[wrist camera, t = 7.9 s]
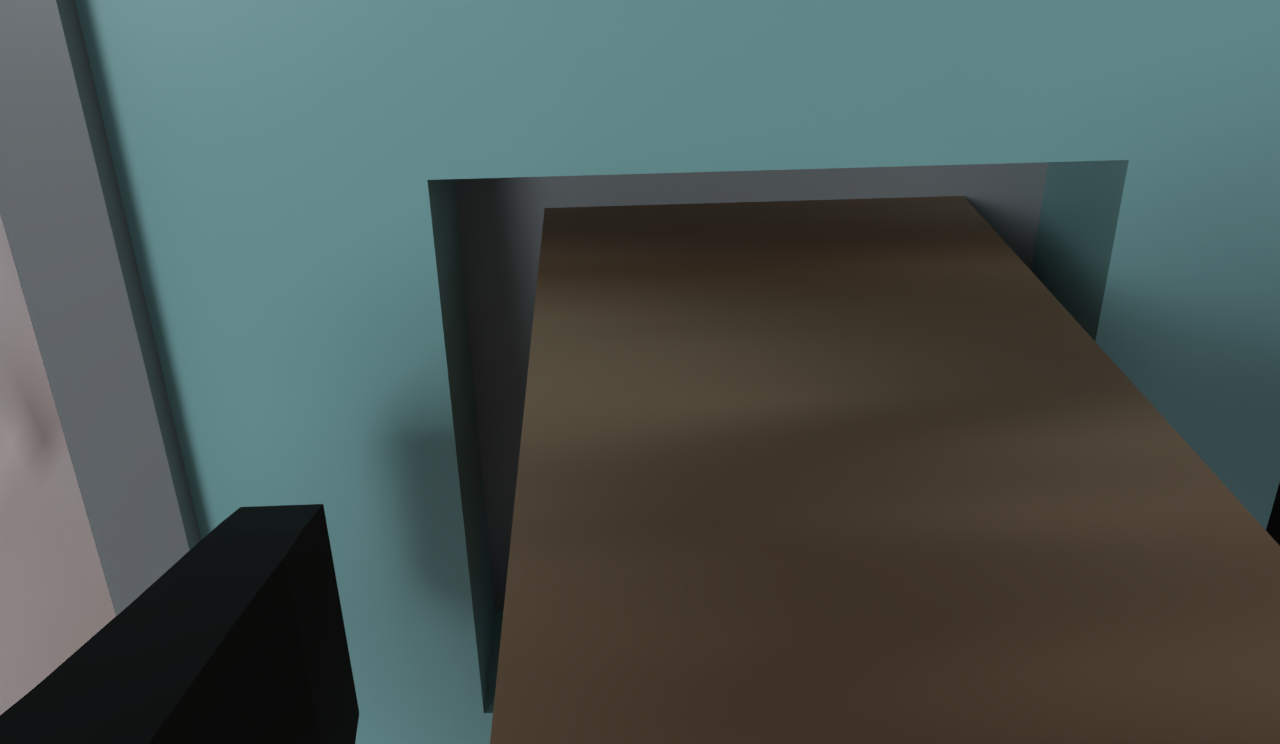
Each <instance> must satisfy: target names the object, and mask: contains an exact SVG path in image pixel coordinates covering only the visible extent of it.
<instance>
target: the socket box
mask: <svg viewBox="0 0 1280 744" xmlns="http://www.w3.org/2000/svg"><path fill="white" fill-rule="evenodd" d="M939 196H964V197H965V198H966V199H967V200H968V202H969V203H970V204H971V205H972V206H973V207H974V208H975V209H976V210H977V212H978V213H979V214H980V215H981V216H982V217H983V218H984V219H985V220H986V221H987V223H988V224H989V225H990V226H991V227H992V228H993V229H994V230H995V231H996V233H997V234H998V235H999V236H1000V237H1001V238H1002V239H1003V240H1004V241H1005V243H1006V244H1007V245H1008V246H1009V247H1010V248H1011V249H1012V250H1013V251H1014V252H1015V254H1016V255H1017V256H1018V257H1019V258H1020V259H1021V260H1022V261H1023V262H1024V264H1025V265H1026V266H1027V267H1028V268H1029V269H1030V270H1031V271H1032V272H1033V273H1034V275H1035V276H1036V277H1037V278H1038V279H1039V280H1040V281H1041V282H1042V283H1043V285H1044V286H1045V287H1046V288H1047V289H1048V290H1049V291H1050V292H1051V293H1052V294H1053V296H1054V297H1055V298H1056V299H1057V300H1058V301H1059V302H1060V303H1061V304H1062V306H1063V307H1064V308H1065V309H1066V310H1067V311H1068V312H1069V313H1070V314H1071V315H1072V317H1073V318H1074V319H1075V320H1076V321H1077V322H1078V323H1079V324H1080V325H1081V327H1082V328H1083V329H1084V330H1085V331H1086V332H1087V333H1088V334H1089V335H1090V337H1091V338H1092V339H1093V340H1094V341H1095V342H1096V343H1097V344H1098V345H1099V346H1100V348H1101V349H1102V350H1103V351H1104V352H1105V353H1106V354H1107V355H1108V356H1109V358H1110V359H1111V360H1112V361H1113V362H1114V363H1115V364H1116V365H1117V366H1118V367H1119V369H1120V370H1121V371H1122V372H1123V373H1124V374H1125V375H1126V376H1127V377H1128V379H1129V380H1130V381H1131V382H1132V383H1133V384H1134V385H1135V386H1136V387H1137V388H1138V390H1139V391H1140V392H1141V393H1142V394H1143V395H1144V396H1145V397H1146V398H1147V400H1148V401H1149V402H1150V403H1151V404H1152V405H1153V406H1154V407H1155V408H1156V410H1157V411H1158V412H1159V413H1160V414H1161V415H1162V416H1163V417H1164V418H1165V419H1166V421H1167V422H1168V423H1169V424H1170V425H1171V426H1172V427H1173V428H1174V429H1175V431H1176V432H1177V433H1178V434H1179V435H1180V436H1181V437H1182V438H1183V439H1184V440H1185V442H1186V443H1187V444H1188V445H1189V446H1190V447H1191V448H1192V449H1193V450H1194V452H1195V453H1196V454H1197V455H1198V456H1199V457H1200V458H1201V459H1202V460H1203V461H1204V463H1205V464H1206V465H1207V466H1208V467H1209V468H1210V469H1211V470H1212V471H1213V473H1214V474H1215V475H1216V476H1217V477H1218V478H1219V479H1220V480H1221V481H1222V482H1223V484H1224V485H1225V486H1226V487H1227V488H1228V489H1229V490H1230V491H1231V492H1232V494H1233V495H1234V496H1235V497H1236V498H1237V499H1238V500H1239V501H1240V502H1241V504H1242V505H1243V506H1244V507H1245V508H1246V509H1247V510H1248V511H1249V512H1250V513H1251V515H1252V516H1253V517H1254V518H1255V519H1256V520H1257V521H1258V522H1259V523H1260V525H1261V526H1262V527H1263V528H1264V529H1265V530H1266V528H1267V525H1268V521H1269V518H1270V514H1271V511H1272V507H1273V504H1274V500H1275V497H1276V493H1277V490H1278V486H1279V483H1280V0H0V214H1V217H2V221H3V224H4V228H5V231H6V235H7V238H8V242H9V245H10V249H11V252H12V256H13V259H14V263H15V266H16V269H17V273H18V276H19V280H20V283H21V287H22V290H23V294H24V297H25V301H26V304H27V308H28V311H29V315H30V318H31V322H32V325H33V328H34V332H35V335H36V339H37V342H38V346H39V349H40V353H41V356H42V360H43V363H44V367H45V370H46V374H47V377H48V381H49V384H50V388H51V391H52V394H53V398H54V401H55V405H56V408H57V412H58V415H59V419H60V422H61V426H62V429H63V433H64V436H65V440H66V443H67V447H68V450H69V453H70V457H71V460H72V464H73V467H74V471H75V474H76V478H77V481H78V485H79V488H80V492H81V495H82V499H83V502H84V506H85V509H86V513H87V516H88V519H89V523H90V526H91V530H92V533H93V537H94V540H95V544H96V547H97V551H98V554H99V558H100V561H101V565H102V568H103V572H104V575H105V578H106V582H107V585H108V589H109V592H110V596H111V599H112V603H113V606H114V610H115V613H116V616H117V615H118V614H120V613H121V612H122V611H123V610H124V609H125V608H126V607H127V606H129V605H130V604H131V603H132V602H133V601H134V600H135V599H136V598H137V597H139V596H140V595H141V594H142V593H143V592H144V591H145V590H146V589H147V588H149V587H150V586H151V585H152V584H153V583H154V582H155V581H156V580H157V579H159V578H160V577H161V576H162V575H163V574H164V573H165V572H166V571H167V570H169V569H170V568H171V567H172V566H173V565H174V564H175V563H176V562H177V561H178V560H180V559H181V558H182V557H183V556H184V555H185V554H186V553H187V552H188V551H190V550H191V549H192V548H193V547H194V546H195V545H196V544H197V543H199V542H200V541H201V540H202V539H203V538H204V537H205V536H206V535H208V534H209V533H210V532H211V531H212V530H213V529H214V528H216V527H217V526H218V525H219V524H220V523H221V522H223V521H224V520H225V519H226V518H227V517H229V516H230V515H231V514H232V513H234V512H235V511H236V510H237V509H239V508H240V507H253V506H280V505H308V504H323V505H324V511H325V517H326V523H327V528H328V534H329V540H330V546H331V552H332V557H333V563H334V569H335V575H336V581H337V586H338V592H339V598H340V604H341V610H342V615H343V621H344V627H345V633H346V638H347V644H348V650H349V656H350V662H351V667H352V673H353V679H354V685H355V691H356V696H357V702H358V708H359V720H358V727H357V734H356V741H355V744H490V738H491V729H492V719H493V709H494V699H495V689H496V680H497V670H498V660H499V650H500V640H501V630H502V621H503V611H504V601H505V591H506V581H507V572H508V562H509V552H510V542H511V532H512V523H513V513H514V503H515V493H516V483H517V474H518V464H519V454H520V444H521V434H522V425H523V415H524V405H525V395H526V385H527V376H528V366H529V356H530V346H531V336H532V326H533V317H534V307H535V297H536V287H537V277H538V268H539V258H540V248H541V238H542V228H543V219H544V209H545V208H562V207H596V206H631V205H665V204H699V203H734V202H768V201H802V200H836V199H871V198H905V197H939Z"/></svg>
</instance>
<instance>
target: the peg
mask: <svg viewBox="0 0 1280 744" xmlns="http://www.w3.org/2000/svg"><path fill="white" fill-rule="evenodd" d="M490 744H1280V546H1279V544H1278V543H1277V542H1276V541H1275V540H1274V539H1273V538H1272V537H1271V536H1270V534H1269V533H1268V532H1267V531H1266V530H1265V529H1264V528H1263V527H1262V526H1261V525H1260V523H1259V522H1258V521H1257V520H1256V519H1255V518H1254V517H1253V516H1252V515H1251V513H1250V512H1249V511H1248V510H1247V509H1246V508H1245V507H1244V506H1243V505H1242V504H1241V502H1240V501H1239V500H1238V499H1237V498H1236V497H1235V496H1234V495H1233V494H1232V492H1231V491H1230V490H1229V489H1228V488H1227V487H1226V486H1225V485H1224V484H1223V482H1222V481H1221V480H1220V479H1219V478H1218V477H1217V476H1216V475H1215V474H1214V473H1213V471H1212V470H1211V469H1210V468H1209V467H1208V466H1207V465H1206V464H1205V463H1204V461H1203V460H1202V459H1201V458H1200V457H1199V456H1198V455H1197V454H1196V453H1195V452H1194V450H1193V449H1192V448H1191V447H1190V446H1189V445H1188V444H1187V443H1186V442H1185V440H1184V439H1183V438H1182V437H1181V436H1180V435H1179V434H1178V433H1177V432H1176V431H1175V429H1174V428H1173V427H1172V426H1171V425H1170V424H1169V423H1168V422H1167V421H1166V419H1165V418H1164V417H1163V416H1162V415H1161V414H1160V413H1159V412H1158V411H1157V410H1156V408H1155V407H1154V406H1153V405H1152V404H1151V403H1150V402H1149V401H1148V400H1147V398H1146V397H1145V396H1144V395H1143V394H1142V393H1141V392H1140V391H1139V390H1138V388H1137V387H1136V386H1135V385H1134V384H1133V383H1132V382H1131V381H1130V380H1129V379H1128V377H1127V376H1126V375H1125V374H1124V373H1123V372H1122V371H1121V370H1120V369H1119V367H1118V366H1117V365H1116V364H1115V363H1114V362H1113V361H1112V360H1111V359H1110V358H1109V356H1108V355H1107V354H1106V353H1105V352H1104V351H1103V350H1102V349H1101V348H1100V346H1099V345H1098V344H1097V343H1096V342H1095V341H1094V340H1093V339H1092V338H1091V337H1090V335H1089V334H1088V333H1087V332H1086V331H1085V330H1084V329H1083V328H1082V327H1081V325H1080V324H1079V323H1078V322H1077V321H1076V320H1075V319H1074V318H1073V317H1072V315H1071V314H1070V313H1069V312H1068V311H1067V310H1066V309H1065V308H1064V307H1063V306H1062V304H1061V303H1060V302H1059V301H1058V300H1057V299H1056V298H1055V297H1054V296H1053V294H1052V293H1051V292H1050V291H1049V290H1048V289H1047V288H1046V287H1045V286H1044V285H1043V283H1042V282H1041V281H1040V280H1039V279H1038V278H1037V277H1036V276H1035V275H1034V273H1033V272H1032V271H1031V270H1030V269H1029V268H1028V267H1027V266H1026V265H1025V264H1024V262H1023V261H1022V260H1021V259H1020V258H1019V257H1018V256H1017V255H1016V254H1015V252H1014V251H1013V250H1012V249H1011V248H1010V247H1009V246H1008V245H1007V244H1006V243H1005V241H1004V240H1003V239H1002V238H1001V237H1000V236H999V235H998V234H997V233H996V231H995V230H994V229H993V228H992V227H991V226H990V225H989V224H988V223H987V221H986V220H985V219H984V218H983V217H982V216H981V215H980V214H979V213H978V212H977V210H976V209H975V208H974V207H973V206H972V205H971V204H970V203H969V202H968V200H967V199H966V198H965V197H964V196H939V197H905V198H871V199H836V200H802V201H768V202H734V203H699V204H665V205H631V206H596V207H562V208H545V209H544V219H543V228H542V238H541V248H540V258H539V268H538V277H537V287H536V297H535V307H534V317H533V326H532V336H531V346H530V356H529V366H528V376H527V385H526V395H525V405H524V415H523V425H522V434H521V444H520V454H519V464H518V474H517V483H516V493H515V503H514V513H513V523H512V532H511V542H510V552H509V562H508V572H507V581H506V591H505V601H504V611H503V621H502V630H501V640H500V650H499V660H498V670H497V680H496V689H495V699H494V709H493V719H492V729H491V738H490Z"/></svg>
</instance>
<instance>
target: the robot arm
mask: <svg viewBox="0 0 1280 744" xmlns="http://www.w3.org/2000/svg"><path fill="white" fill-rule="evenodd" d="M1266 531H1267V532H1268V533H1269V534H1270V536H1271V537H1272V538H1273V539H1274V540H1275V541H1276V542H1277V543H1278V544H1279V546H1280V483H1279V486H1278V490H1277V493H1276V497H1275V500H1274V504H1273V507H1272V511H1271V514H1270V518H1269V521H1268V525H1267V528H1266ZM358 720H359V708H358V702H357V696H356V691H355V685H354V679H353V673H352V667H351V662H350V656H349V650H348V644H347V638H346V633H345V627H344V621H343V615H342V610H341V604H340V598H339V592H338V586H337V581H336V575H335V569H334V563H333V557H332V552H331V546H330V540H329V534H328V528H327V523H326V517H325V511H324V505H323V504H308V505H280V506H253V507H240V508H239V509H237V510H236V511H235V512H234V513H232V514H231V515H230V516H229V517H227V518H226V519H225V520H224V521H223V522H221V523H220V524H219V525H218V526H217V527H216V528H214V529H213V530H212V531H211V532H210V533H209V534H208V535H206V536H205V537H204V538H203V539H202V540H201V541H200V542H199V543H197V544H196V545H195V546H194V547H193V548H192V549H191V550H190V551H188V552H187V553H186V554H185V555H184V556H183V557H182V558H181V559H180V560H178V561H177V562H176V563H175V564H174V565H173V566H172V567H171V568H170V569H169V570H167V571H166V572H165V573H164V574H163V575H162V576H161V577H160V578H159V579H157V580H156V581H155V582H154V583H153V584H152V585H151V586H150V587H149V588H147V589H146V590H145V591H144V592H143V593H142V594H141V595H140V596H139V597H137V598H136V599H135V600H134V601H133V602H132V603H131V604H130V605H129V606H127V607H126V608H125V609H124V610H123V611H122V612H121V613H120V614H118V615H117V616H116V617H115V618H114V619H113V620H112V621H110V622H109V623H108V624H107V625H106V626H105V627H104V628H102V629H101V630H100V631H99V632H98V633H97V634H96V635H94V636H93V637H92V638H91V639H90V640H89V641H88V642H86V643H85V644H84V645H83V646H82V647H81V648H80V649H78V650H77V651H76V652H75V653H74V654H73V655H72V656H70V657H69V658H68V659H67V660H66V661H65V662H64V663H62V664H61V665H60V666H59V667H58V668H57V669H56V670H54V671H53V672H52V673H51V674H50V675H49V676H48V677H46V678H45V679H44V680H43V681H42V682H41V683H40V684H38V685H37V686H36V687H35V688H34V689H32V690H31V691H30V692H29V693H28V694H27V695H25V696H24V697H23V698H22V699H20V700H19V701H18V702H17V703H15V704H14V705H13V706H12V707H10V708H9V709H8V710H7V711H5V712H4V713H3V714H2V715H0V744H355V741H356V734H357V727H358Z"/></svg>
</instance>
